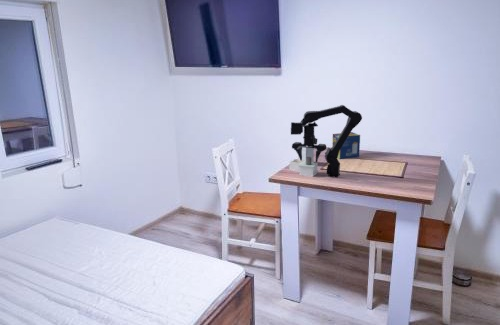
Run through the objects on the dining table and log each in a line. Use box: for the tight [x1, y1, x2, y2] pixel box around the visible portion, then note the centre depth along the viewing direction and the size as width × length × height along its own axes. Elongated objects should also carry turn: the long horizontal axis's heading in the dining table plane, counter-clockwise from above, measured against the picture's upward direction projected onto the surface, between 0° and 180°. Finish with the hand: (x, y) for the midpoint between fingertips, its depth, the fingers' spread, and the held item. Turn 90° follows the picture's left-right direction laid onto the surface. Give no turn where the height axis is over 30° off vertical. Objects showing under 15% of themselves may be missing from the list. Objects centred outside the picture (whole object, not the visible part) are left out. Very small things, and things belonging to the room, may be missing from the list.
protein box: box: [331, 131, 361, 160], centre depth 253 cm, size 10×15×16 cm
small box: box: [297, 146, 315, 163], centre depth 234 cm, size 8×6×13 cm
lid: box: [299, 157, 319, 168], centre depth 213 cm, size 9×9×5 cm
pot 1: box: [289, 158, 306, 172], centre depth 224 cm, size 8×8×6 cm
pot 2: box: [298, 164, 319, 178], centre depth 214 cm, size 8×8×6 cm
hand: (308, 161), depth 213 cm, fingers open, 9 cm apart
